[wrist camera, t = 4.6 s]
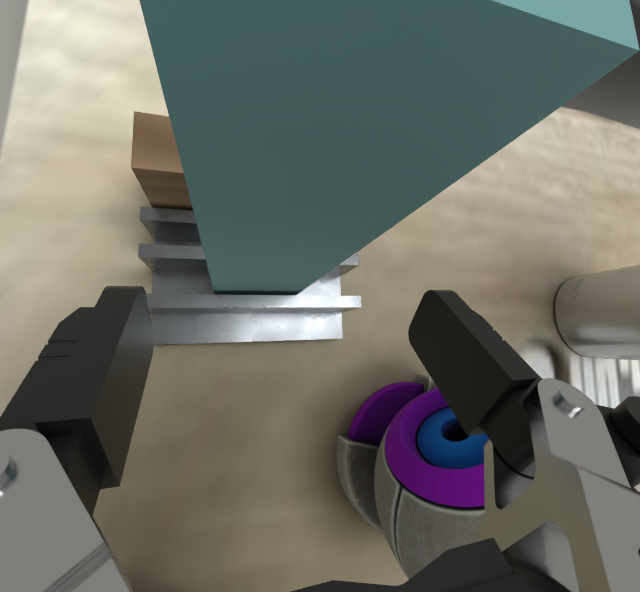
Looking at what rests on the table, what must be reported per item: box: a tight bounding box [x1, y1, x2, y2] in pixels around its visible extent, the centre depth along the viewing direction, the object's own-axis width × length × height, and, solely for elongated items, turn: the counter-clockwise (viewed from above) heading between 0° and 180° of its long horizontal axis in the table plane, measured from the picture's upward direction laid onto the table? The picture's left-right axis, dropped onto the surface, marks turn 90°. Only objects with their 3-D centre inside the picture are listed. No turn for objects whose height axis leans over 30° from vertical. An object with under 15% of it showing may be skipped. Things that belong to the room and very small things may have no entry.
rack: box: [138, 207, 361, 345], centre depth 23 cm, size 14×14×6 cm
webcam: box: [337, 375, 579, 592], centre depth 21 cm, size 13×13×15 cm
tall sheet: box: [140, 0, 639, 295], centre depth 14 cm, size 2×6×22 cm, turn 92°
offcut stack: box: [131, 111, 193, 211], centre depth 21 cm, size 3×13×9 cm, turn 92°
